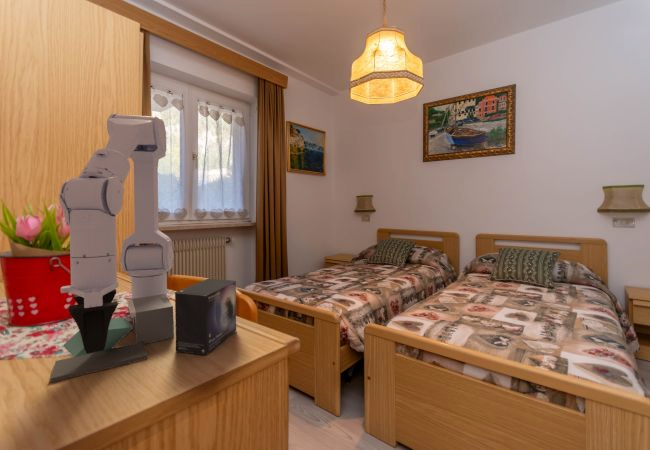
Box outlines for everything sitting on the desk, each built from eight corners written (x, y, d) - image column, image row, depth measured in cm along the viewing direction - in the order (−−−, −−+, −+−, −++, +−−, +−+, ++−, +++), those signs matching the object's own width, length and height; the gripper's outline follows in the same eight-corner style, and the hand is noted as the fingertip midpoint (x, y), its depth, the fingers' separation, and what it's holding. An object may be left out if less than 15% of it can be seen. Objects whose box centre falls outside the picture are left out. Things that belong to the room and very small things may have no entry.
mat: (56, 364, 49) (55, 360, 49) (143, 344, 56) (143, 341, 56) (50, 382, 44) (50, 378, 44) (147, 358, 51) (147, 354, 51)
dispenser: (128, 328, 63) (127, 299, 62) (166, 321, 67) (165, 293, 66) (131, 346, 55) (130, 313, 55) (174, 337, 59) (172, 305, 58)
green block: (62, 345, 45) (91, 319, 46) (101, 339, 54) (124, 317, 56) (74, 357, 45) (102, 330, 46) (111, 348, 54) (134, 326, 55)
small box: (208, 356, 52) (206, 295, 51) (173, 352, 53) (171, 292, 52) (238, 330, 62) (237, 279, 61) (209, 328, 63) (207, 277, 63)
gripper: (65, 253, 52) (67, 334, 52) (53, 263, 40) (55, 368, 40) (116, 250, 56) (118, 326, 56) (119, 258, 44) (121, 354, 44)
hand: (95, 343), depth 48 cm, fingers open, 6 cm apart
